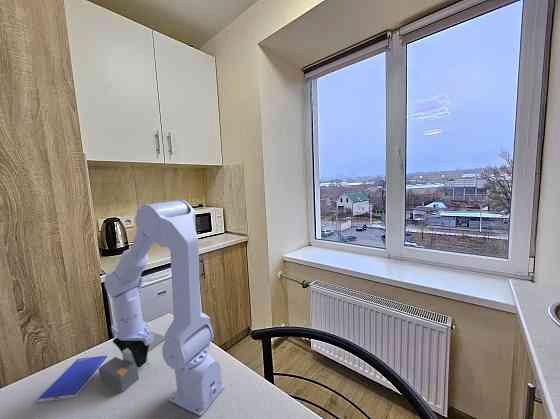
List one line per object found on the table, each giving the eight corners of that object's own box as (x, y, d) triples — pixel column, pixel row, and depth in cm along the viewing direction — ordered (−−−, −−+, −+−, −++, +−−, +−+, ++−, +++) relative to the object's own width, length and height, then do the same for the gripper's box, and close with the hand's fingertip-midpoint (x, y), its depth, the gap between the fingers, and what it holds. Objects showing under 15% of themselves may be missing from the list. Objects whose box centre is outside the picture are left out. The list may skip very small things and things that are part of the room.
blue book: (76, 358, 68) (36, 398, 56) (107, 355, 68) (74, 393, 56) (77, 363, 68) (38, 404, 56) (108, 360, 69) (75, 399, 56)
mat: (167, 338, 76) (167, 337, 76) (143, 355, 69) (143, 354, 69) (150, 332, 79) (150, 331, 79) (125, 348, 72) (125, 347, 72)
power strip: (139, 378, 60) (137, 363, 60) (122, 392, 57) (120, 376, 56) (117, 368, 64) (115, 354, 64) (100, 380, 61) (98, 365, 60)
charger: (149, 363, 66) (146, 344, 65) (127, 380, 60) (124, 360, 60) (139, 359, 67) (136, 341, 67) (117, 375, 62) (114, 355, 61)
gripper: (161, 311, 63) (167, 358, 65) (127, 302, 69) (133, 345, 71) (135, 326, 57) (143, 379, 58) (100, 315, 63) (108, 362, 65)
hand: (136, 362), depth 64 cm, fingers closed on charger, 4 cm apart
